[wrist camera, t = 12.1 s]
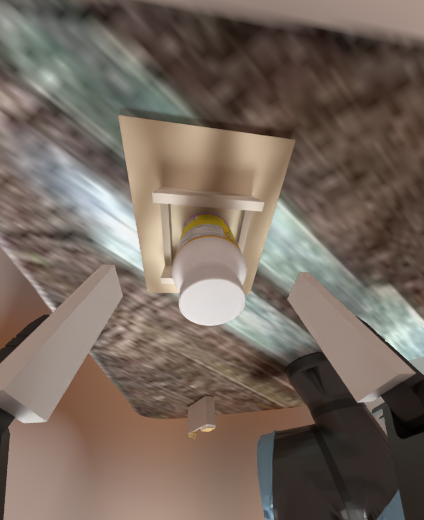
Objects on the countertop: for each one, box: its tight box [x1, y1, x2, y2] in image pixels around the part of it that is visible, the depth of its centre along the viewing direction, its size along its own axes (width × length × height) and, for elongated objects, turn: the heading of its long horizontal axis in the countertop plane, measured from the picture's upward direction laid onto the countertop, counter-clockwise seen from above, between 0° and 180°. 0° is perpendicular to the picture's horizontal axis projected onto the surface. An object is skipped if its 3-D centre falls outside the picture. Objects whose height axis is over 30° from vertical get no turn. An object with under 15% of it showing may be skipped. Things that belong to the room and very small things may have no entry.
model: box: [187, 396, 216, 439], centre depth 48 cm, size 3×11×8 cm, turn 144°
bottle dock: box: [118, 115, 296, 294], centre depth 18 cm, size 16×20×5 cm
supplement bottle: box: [172, 212, 247, 326], centre depth 14 cm, size 6×6×11 cm
